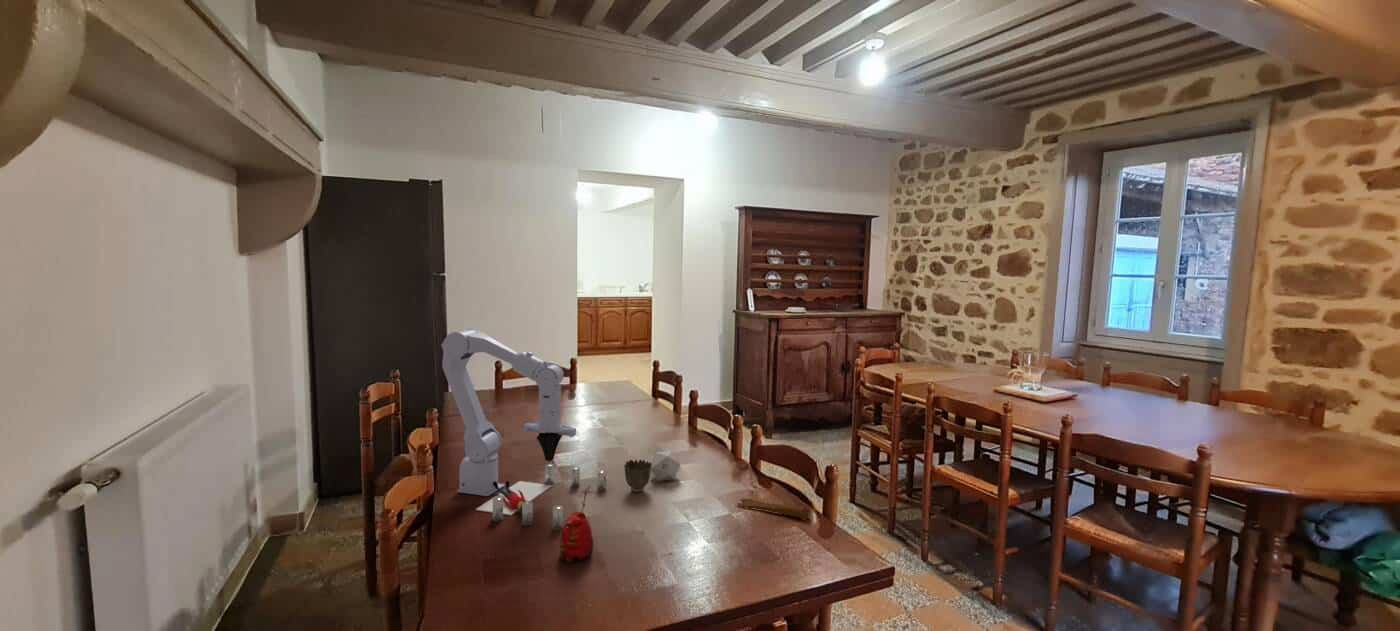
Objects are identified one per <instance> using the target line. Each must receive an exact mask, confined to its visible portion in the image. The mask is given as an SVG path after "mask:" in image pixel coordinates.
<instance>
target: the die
mask: <svg viewBox="0 0 1400 631" xmlns="http://www.w3.org/2000/svg"><path fill="white" fill-rule="evenodd" d="M650 462H651V474H652V475H653V476H654V478H655V479H656V481H657V482H663V481H664V482H665V481H672V480H675V479H676V476H677V474H678V471H679V470H680V467H681V462H680V461H679V459H678V458H677V457H676V455H675V453H674V452H673V451H672V450H667V451H665V450H664V451H657V452H656V451H655V452H654V455H653V456H652V459H651V461H650Z"/></svg>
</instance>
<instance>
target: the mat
mask: <svg viewBox="0 0 1400 631" xmlns="http://www.w3.org/2000/svg"><path fill="white" fill-rule="evenodd" d="M551 487H552V485H551V484H546V483H545V484H544V483H537V482H527V481H521V480H519V481H518V482H515V483H514V484H513V485H512V486H509V489H510V490H511V491H513V492H515V493H516V494H518V496H519V497H521V495H520V493H519V491H518V489H519V490H520V491H521V492H522V493H523V496H524V498H525V500H526V501H532V502H533V500H535V499H536V498H537V497H539V496H540V495H541V494H543V493H544V492H546V491H547V490H549V489H550V488H551ZM504 491H505V492H507V490H506V489H505V490H504ZM507 493H508V492H507ZM502 495H503V494H501V493H500V492H499V494H497V495H496V496H494V497H492V498H491V499H490V500H488V501H486V502H484V503H483V504H481V505H480V506H479V507H477V508H475V511H478V512H484V513H485V512H486V513H491V514H493V498H495V497H502ZM503 497H505V496H504V495H503ZM505 499H506V501H507V502H508V503H509V504H512V502H510V501H509V500H508V499H507V498H506V497H505ZM517 512H518V508H515V509H511V508H510V507H507V506H506V505H505V503H504V501H503V516H510V517H511V516H513V515H514V514H516V513H517Z"/></svg>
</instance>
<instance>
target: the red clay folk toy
mask: <svg viewBox="0 0 1400 631" xmlns="http://www.w3.org/2000/svg"><path fill="white" fill-rule="evenodd" d="M590 488H591V486H590V485H588V486H587V488H586V489H584V491H583V490H582V492H581V493H583V494H584V496H583V502H581V505H582V507H581V512H579V511H575V512H573V513H572V514H571V515H569V516H568V517H567V518H566V520H565V523H564V524H563V526H562V529H561V535H560V538H559V550H560V551H559V553H560V558H561V560H563V561H564V562H566V563H568V564H571V563H573V562H580V561H581V562H582V561H583V560H585V559H587V558H588V557H589V556H590V555H591V554H592V553H593V550H594V549H593V547H594V539H593V535H592V528H591V524H590V522H589V520H588V518H587V516H586V514H585V513H584V512H583V511H584V508H585V507H586V503H585V502H586V497H587V495H588V493H592V491H591V490H590V491H589V489H590Z"/></svg>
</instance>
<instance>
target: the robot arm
mask: <svg viewBox="0 0 1400 631" xmlns="http://www.w3.org/2000/svg"><path fill="white" fill-rule="evenodd" d="M441 348H442V351H443V354H442V364H441V365H442V366H441V367H442V370H443V372H444V375H445V378H446V380H447V382H448V384H449V388H450V390H451V394H452V395H453V398H454V401H455V403H456V405H457V408H458V411H459V414H460V416H461V419H462V421H463V424H464V426H465V432H464V435H463V440H464V443H465V445H464V452H465V455H466V456H465V457H464V458H463V459H462V460H461V462H460V465H459V488H458V489H457V493H463V494H469V495H475V496H476V495H477V496H483V497H489V496H491V495H493V494H494V493H496V492H497V491H498V490H497V489H496V488H495V487H494V485H493V483H494V481H496V482H497V484H498V487H499V488H501V489H503V488H504V487H506V483H499V454H498V453H499V452H498V451H499V449H500V448H501V446H502V443H503V440H502V435H501V434H500V433H499V432H498V431H497V430H496V428H495V427H494V424H493V423H492V422H490V421H489V420H487V419H486V416H485V414H484V411H483V408H482V406H481V403H480V400H479V397H478V395H477V392H476V391H475V388H474V385H473V382H472V380H471V377H470V374H469V372H468V370H467V365H468V363H469V361H470V359H471V357H472V356H473V355H475V354H478V353H486V354H487V355H490V356H492V357H495V358H497V359H499V360H501V361H503V362H506V363H508V364H510V365H511V367H512V370H513V372H516V373H518V374H519V375H522V376H524V377H526V378H527V379H530V380H532V381H534V382H535V384H536V385H537V387H538V423H536V422H532V423H531V422H527V423H524V425H523V431H524V432H526V433H528V432H533V433H538V435H537V436H536V440H537V441H538V443H539V445H540V446H541V449H542V452H543V456H544V460H545V461H546V462H552V461H553V460H554V458H555V455H556V450H557V447H558V445H559V442H560V441H561V439H562V437H563V436H566V437H567V436H568V437H569V438H573V437H575V436H577V428H576V427H572V426H568V425H563V424H561V423H562V421H561V420H562V384H561V383H562V381H563V380H564V377H565V372H564V370H563V368H562V367H561V366H559V365H558V364H557V363H550V362H549V361H548V360H542V359H541V358H538V357H536V356H534V352H531V351H520V352H517V351H515V350H513V349H511V348H510V347H508V346H507V345H505V344H503V343H501V342H499V341H497V340H495V339H493V338H492V337H490V336H489V335H487V334H486V333H485V332H482V331H479V330H477V329H475V328H468V329H465V330H460V331H454V332H453V331H452V332H450V333H449V334H448V335H446V337H445V339H444V340H443V342H442V343H441Z"/></svg>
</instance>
